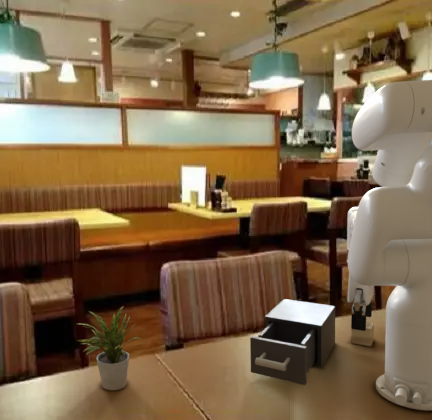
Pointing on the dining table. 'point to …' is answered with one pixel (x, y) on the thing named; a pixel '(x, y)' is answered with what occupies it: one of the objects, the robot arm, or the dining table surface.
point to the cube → (363, 335)
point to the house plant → (110, 352)
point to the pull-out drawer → (284, 352)
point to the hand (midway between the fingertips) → (361, 322)
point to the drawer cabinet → (308, 323)
